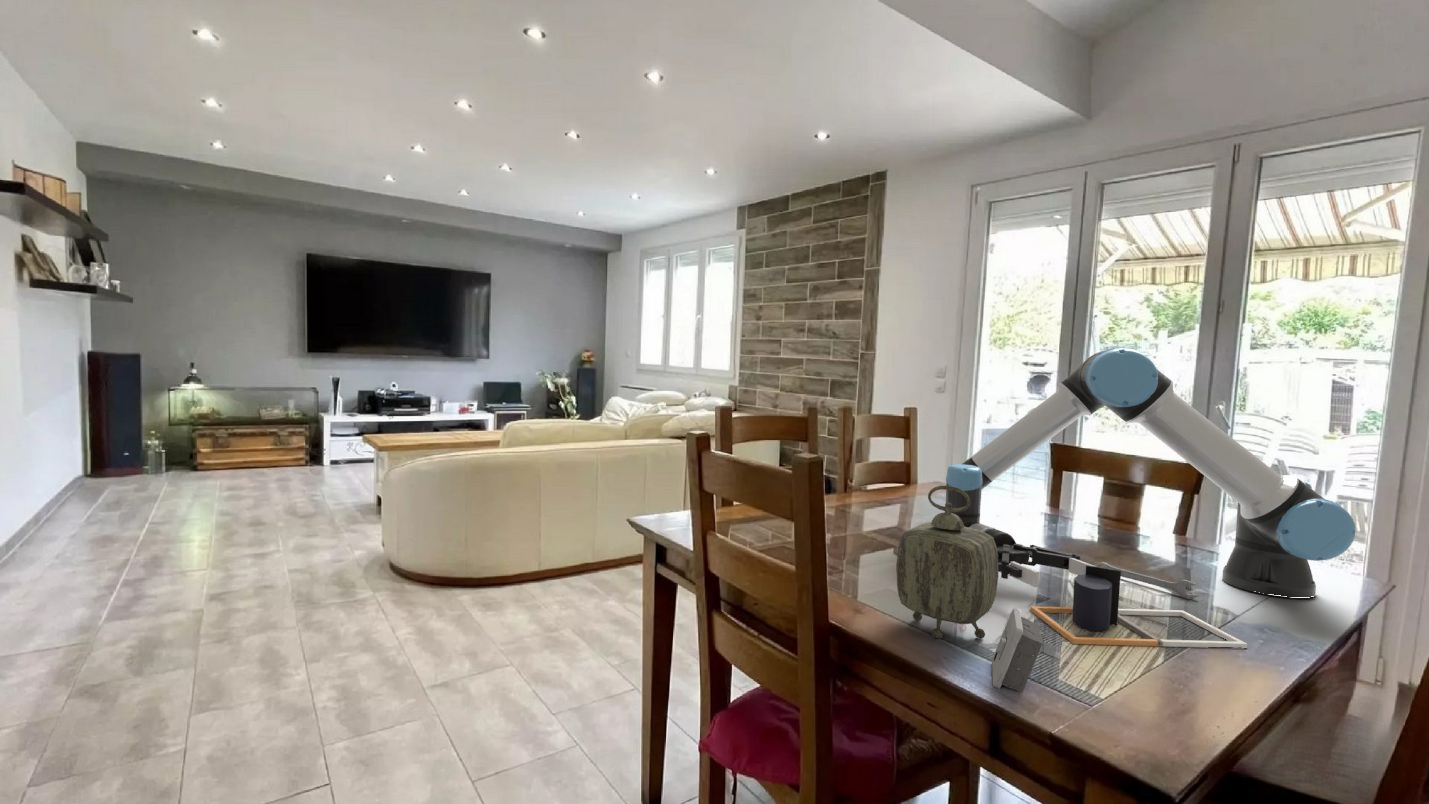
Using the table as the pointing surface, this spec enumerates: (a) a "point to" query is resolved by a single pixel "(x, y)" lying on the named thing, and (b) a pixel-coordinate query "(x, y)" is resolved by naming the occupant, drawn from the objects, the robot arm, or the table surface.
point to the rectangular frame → (1140, 630)
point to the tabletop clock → (947, 569)
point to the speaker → (1096, 598)
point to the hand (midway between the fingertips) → (1068, 577)
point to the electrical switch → (1016, 652)
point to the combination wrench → (1157, 581)
